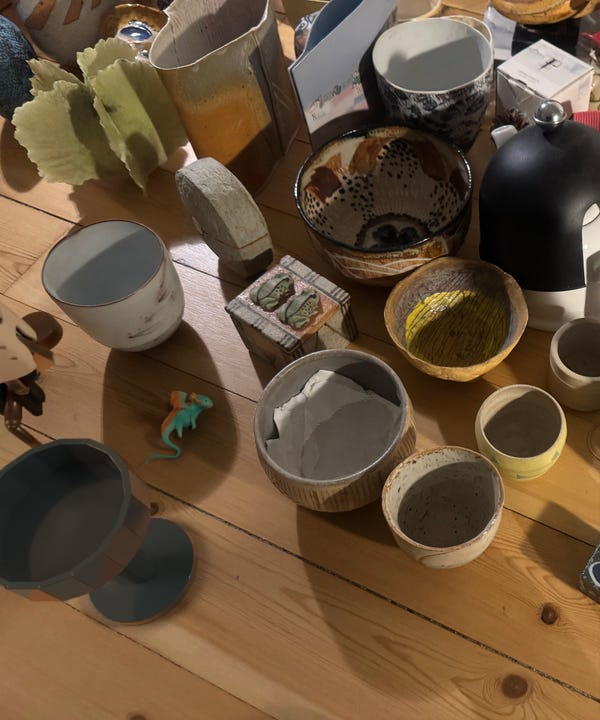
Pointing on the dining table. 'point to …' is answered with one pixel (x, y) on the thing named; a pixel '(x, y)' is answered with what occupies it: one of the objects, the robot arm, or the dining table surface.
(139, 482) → the bowl
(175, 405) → the dragon figurine
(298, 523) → the dining table surface
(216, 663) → the dining table surface
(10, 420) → the ladle
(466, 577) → the dining table surface
